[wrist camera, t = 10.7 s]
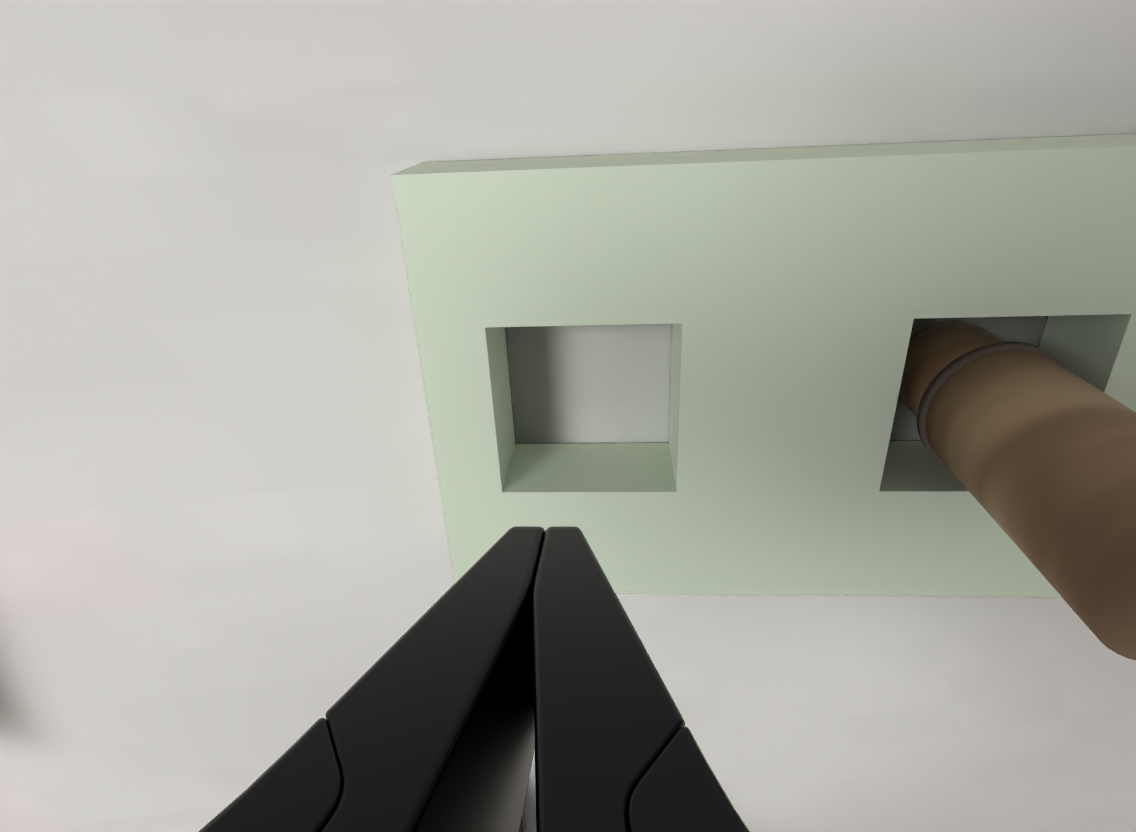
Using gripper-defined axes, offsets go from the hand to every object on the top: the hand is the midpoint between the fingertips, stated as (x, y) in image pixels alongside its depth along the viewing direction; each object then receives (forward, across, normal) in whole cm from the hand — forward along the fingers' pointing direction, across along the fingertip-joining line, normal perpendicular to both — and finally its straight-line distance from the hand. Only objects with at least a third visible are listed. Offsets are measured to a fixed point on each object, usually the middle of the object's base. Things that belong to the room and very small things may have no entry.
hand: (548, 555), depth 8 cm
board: (+13, -6, +3) cm, 14 cm away
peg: (+13, -11, +3) cm, 17 cm away
